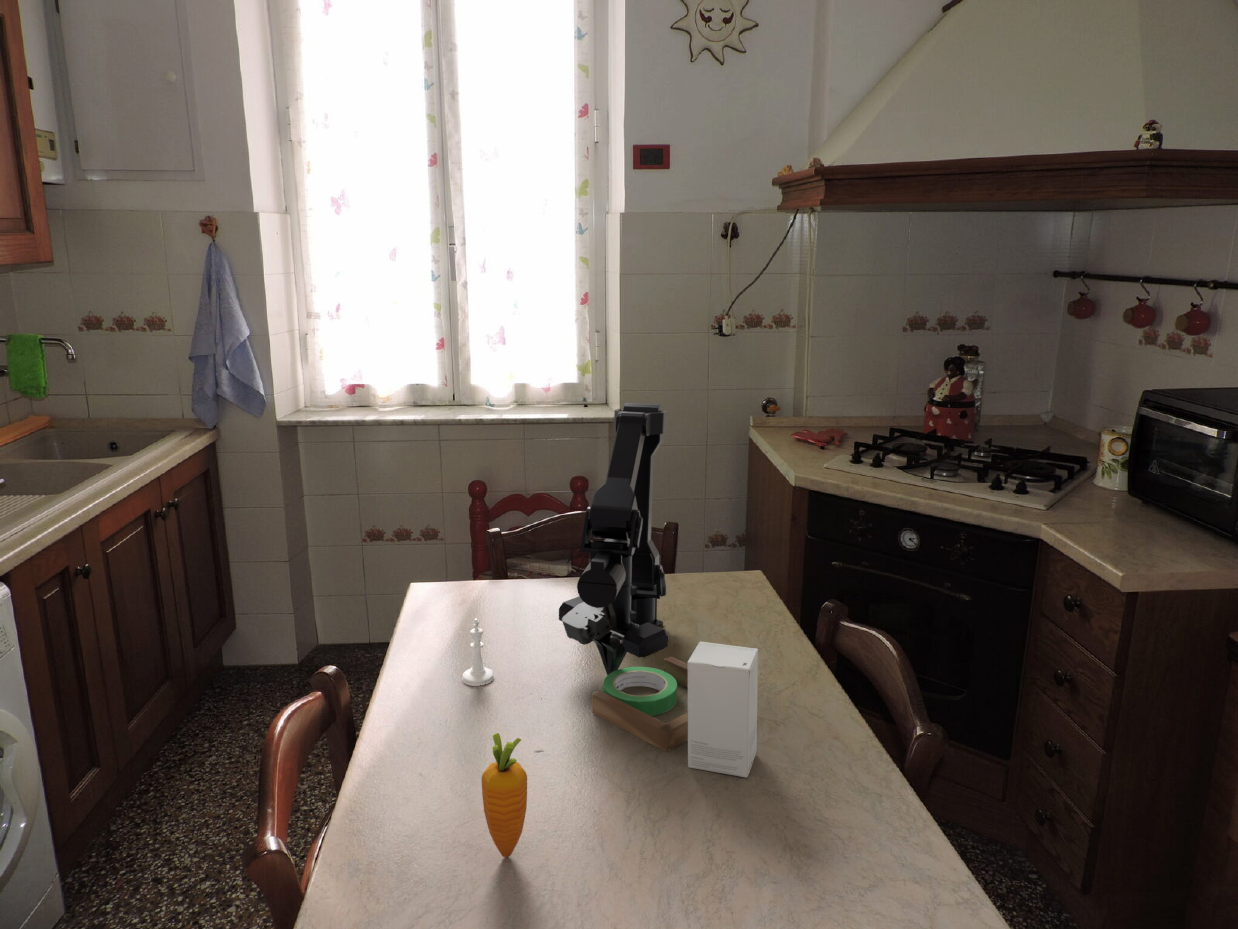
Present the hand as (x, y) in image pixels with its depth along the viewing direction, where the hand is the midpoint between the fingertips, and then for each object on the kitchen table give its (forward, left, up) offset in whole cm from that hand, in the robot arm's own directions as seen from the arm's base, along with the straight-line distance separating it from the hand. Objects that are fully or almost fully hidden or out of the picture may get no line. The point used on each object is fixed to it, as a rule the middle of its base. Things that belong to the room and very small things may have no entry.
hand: (611, 675), depth 142 cm
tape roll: (0, +7, -2) cm, 7 cm away
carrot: (+37, +21, -1) cm, 42 cm away
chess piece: (+14, -15, -1) cm, 21 cm away
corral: (0, +11, -1) cm, 11 cm away
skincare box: (+5, +26, -1) cm, 26 cm away
